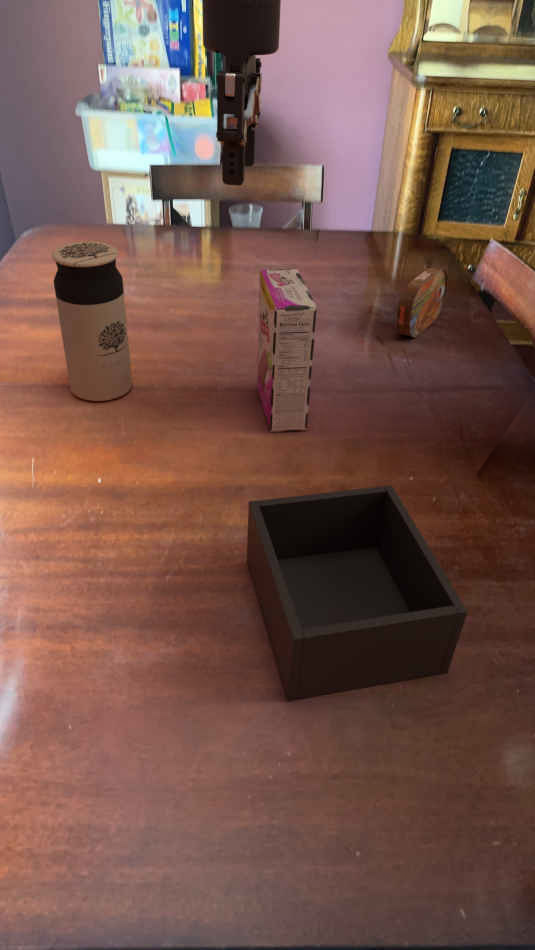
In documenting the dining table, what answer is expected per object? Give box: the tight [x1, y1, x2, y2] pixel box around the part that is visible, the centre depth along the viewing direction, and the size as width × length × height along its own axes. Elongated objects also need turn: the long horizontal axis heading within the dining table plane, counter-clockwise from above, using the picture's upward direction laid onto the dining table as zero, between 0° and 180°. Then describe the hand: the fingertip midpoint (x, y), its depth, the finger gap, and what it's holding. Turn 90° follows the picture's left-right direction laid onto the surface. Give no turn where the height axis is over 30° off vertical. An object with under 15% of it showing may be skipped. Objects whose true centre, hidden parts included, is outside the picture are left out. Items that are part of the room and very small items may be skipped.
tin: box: [395, 267, 449, 339], centre depth 106 cm, size 15×3×8 cm, turn 147°
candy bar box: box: [256, 268, 318, 433], centre depth 82 cm, size 11×5×16 cm, turn 9°
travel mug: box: [51, 240, 133, 402], centre depth 83 cm, size 8×8×18 cm
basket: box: [246, 484, 469, 702], centre depth 58 cm, size 14×16×8 cm
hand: (239, 174), depth 74 cm, fingers open, 8 cm apart
